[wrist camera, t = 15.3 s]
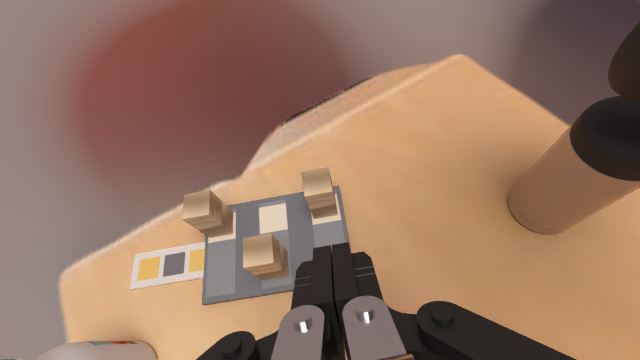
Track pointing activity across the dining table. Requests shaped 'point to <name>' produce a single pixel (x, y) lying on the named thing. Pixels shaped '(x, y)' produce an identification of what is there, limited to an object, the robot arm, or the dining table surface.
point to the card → (168, 266)
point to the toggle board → (289, 229)
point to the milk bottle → (99, 351)
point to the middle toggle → (265, 257)
